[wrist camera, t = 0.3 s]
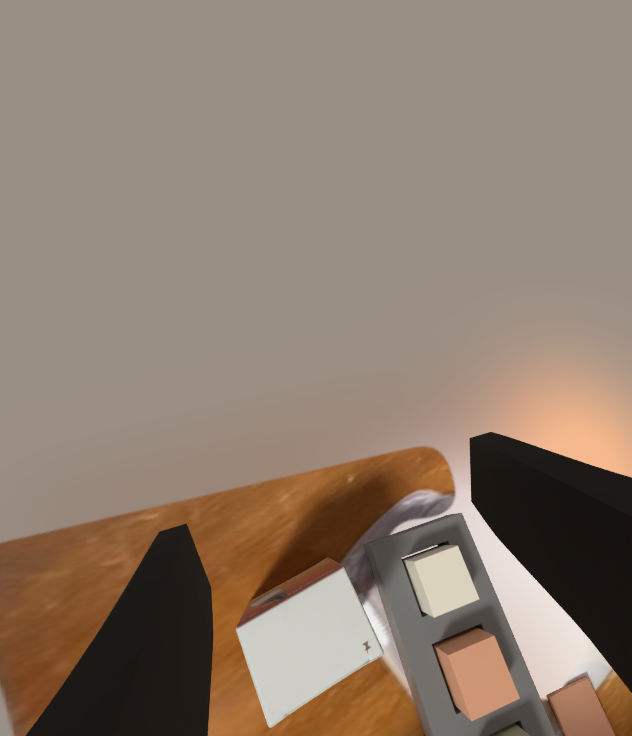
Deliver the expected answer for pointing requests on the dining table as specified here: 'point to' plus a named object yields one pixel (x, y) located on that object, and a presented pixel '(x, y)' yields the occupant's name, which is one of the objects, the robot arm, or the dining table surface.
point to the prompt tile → (579, 710)
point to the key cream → (440, 580)
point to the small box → (305, 638)
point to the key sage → (510, 731)
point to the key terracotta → (475, 672)
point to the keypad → (449, 633)
